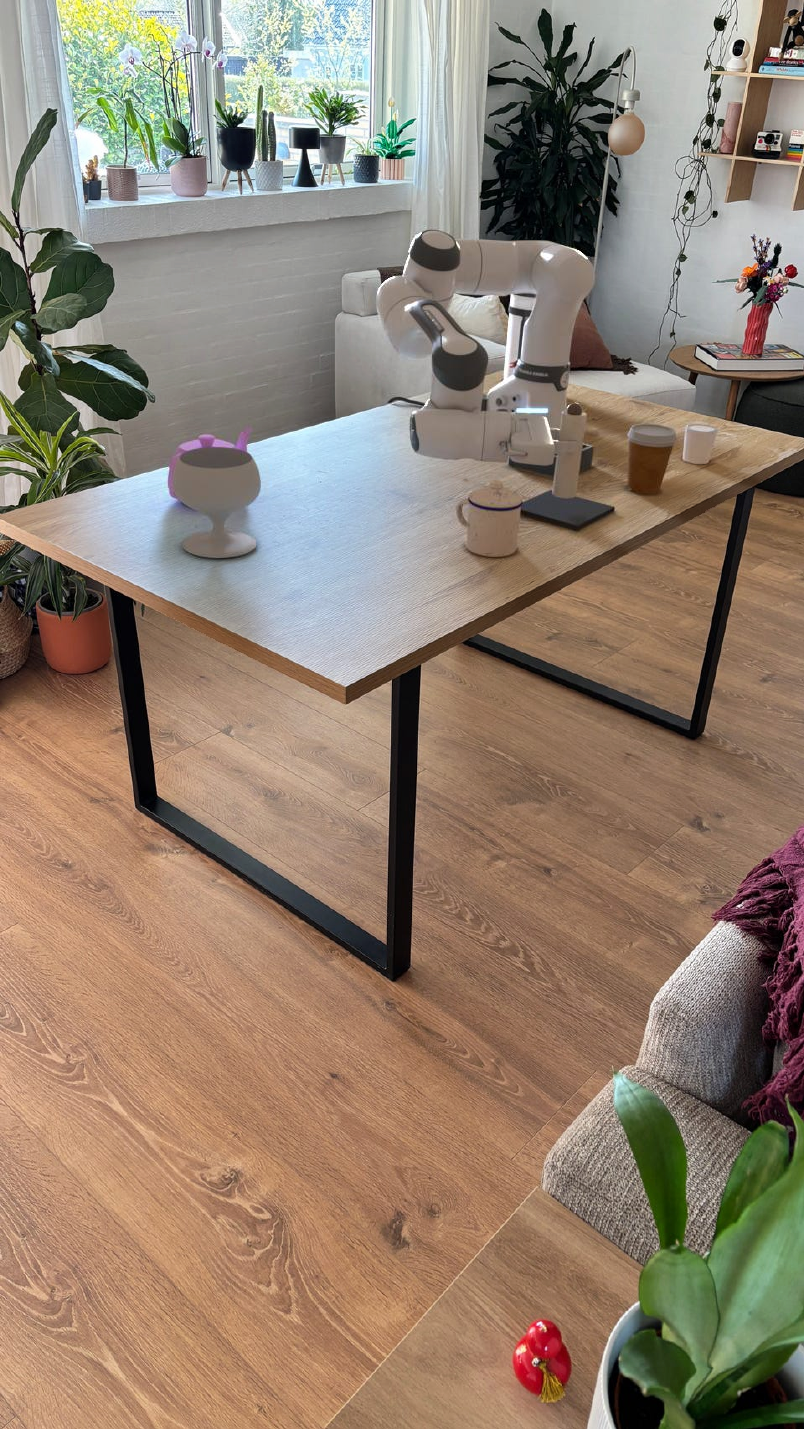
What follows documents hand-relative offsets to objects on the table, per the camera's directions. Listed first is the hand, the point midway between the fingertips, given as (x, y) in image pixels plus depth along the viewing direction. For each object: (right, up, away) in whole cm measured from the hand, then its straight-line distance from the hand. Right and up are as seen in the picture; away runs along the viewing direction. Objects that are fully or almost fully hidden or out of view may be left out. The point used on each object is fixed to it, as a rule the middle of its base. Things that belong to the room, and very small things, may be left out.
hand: (575, 441), depth 196 cm
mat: (-1, -11, +7) cm, 13 cm away
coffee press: (0, +35, +88) cm, 95 cm away
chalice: (-62, -21, -15) cm, 67 cm away
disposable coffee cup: (+17, -5, +20) cm, 27 cm away
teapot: (-66, -9, +5) cm, 67 cm away
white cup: (+32, +6, +40) cm, 52 cm away
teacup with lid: (-17, -21, -10) cm, 29 cm away
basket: (-1, +2, +30) cm, 30 cm away
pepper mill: (-1, -9, +5) cm, 10 cm away
